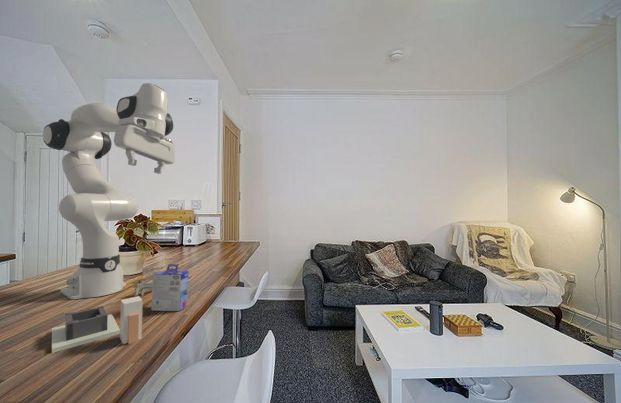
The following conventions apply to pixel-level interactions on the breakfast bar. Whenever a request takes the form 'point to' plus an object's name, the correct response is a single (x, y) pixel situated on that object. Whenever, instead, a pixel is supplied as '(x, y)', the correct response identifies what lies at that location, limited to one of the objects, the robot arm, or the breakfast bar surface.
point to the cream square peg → (131, 320)
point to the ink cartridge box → (170, 290)
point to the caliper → (142, 285)
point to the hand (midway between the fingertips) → (145, 169)
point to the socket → (83, 328)
